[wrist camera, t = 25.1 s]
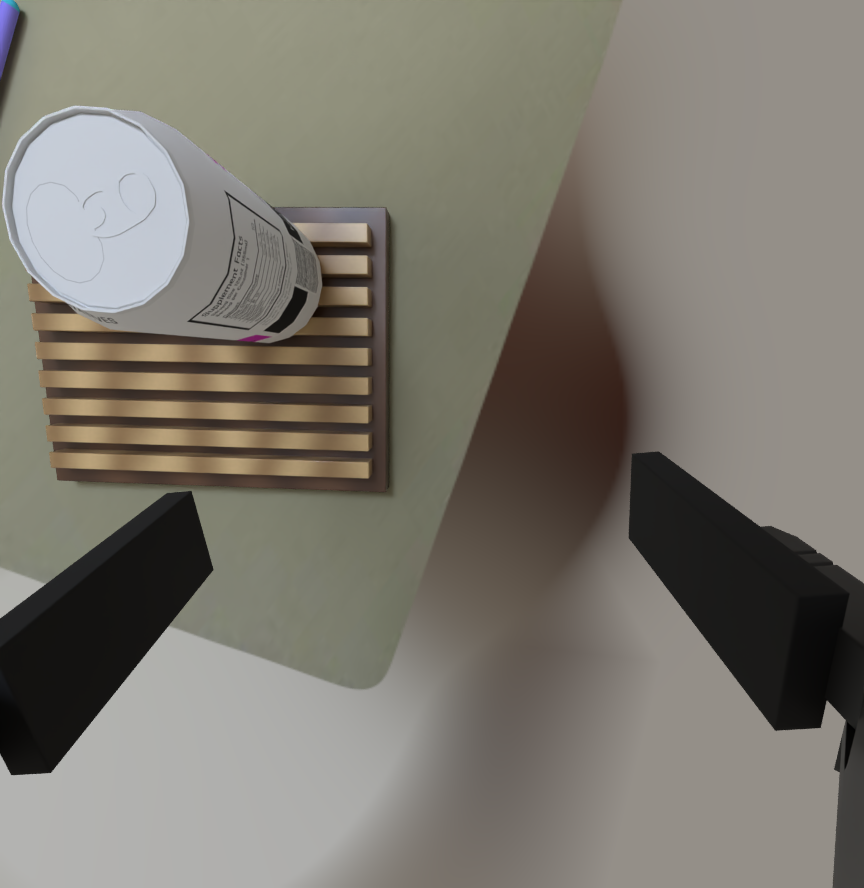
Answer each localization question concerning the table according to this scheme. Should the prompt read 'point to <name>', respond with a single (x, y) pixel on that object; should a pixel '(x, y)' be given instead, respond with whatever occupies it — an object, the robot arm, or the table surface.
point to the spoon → (7, 28)
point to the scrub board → (233, 384)
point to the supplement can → (153, 231)
